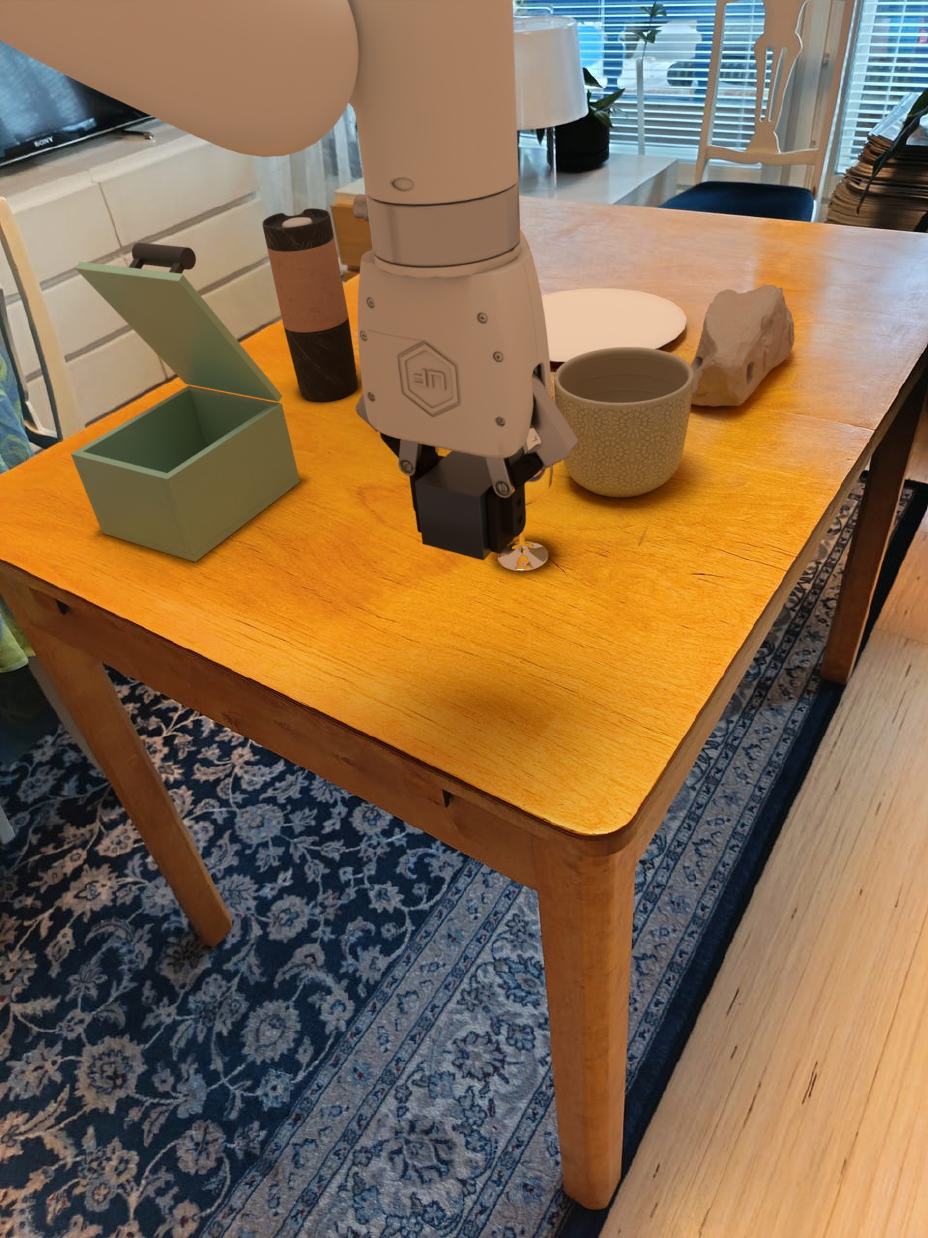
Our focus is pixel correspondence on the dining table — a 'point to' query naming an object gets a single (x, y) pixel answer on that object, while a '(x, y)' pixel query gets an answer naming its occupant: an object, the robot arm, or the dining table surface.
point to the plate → (608, 321)
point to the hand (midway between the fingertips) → (469, 529)
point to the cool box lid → (178, 320)
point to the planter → (625, 417)
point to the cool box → (188, 470)
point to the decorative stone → (740, 345)
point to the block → (455, 505)
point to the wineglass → (523, 552)
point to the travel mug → (312, 303)
